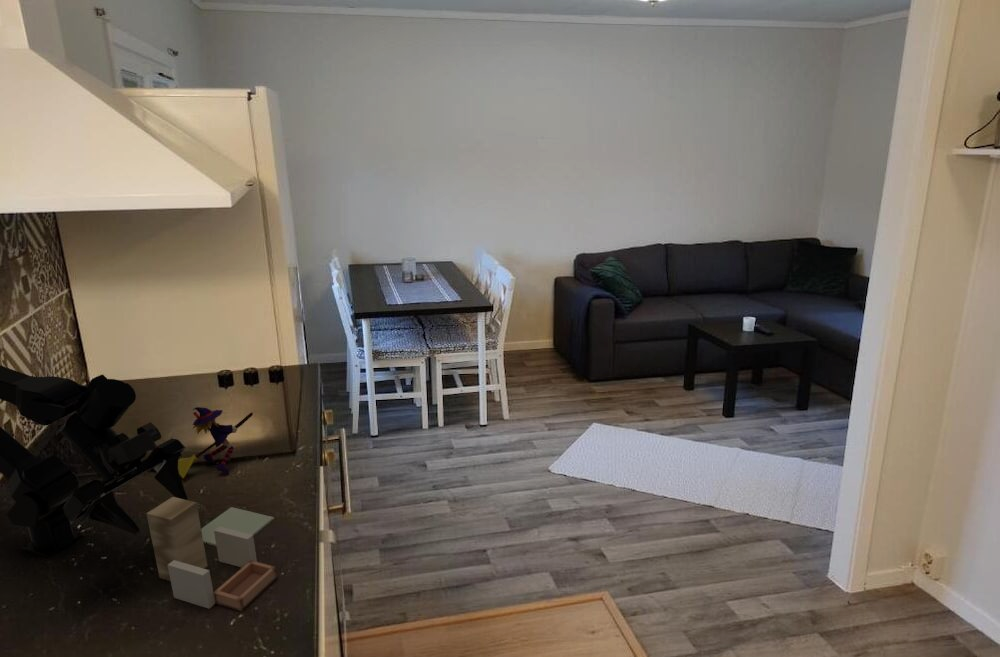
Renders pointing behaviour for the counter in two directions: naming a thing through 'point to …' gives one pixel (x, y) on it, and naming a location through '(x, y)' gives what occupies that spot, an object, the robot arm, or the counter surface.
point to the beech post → (176, 535)
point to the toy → (219, 435)
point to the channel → (197, 581)
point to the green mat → (235, 523)
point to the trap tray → (245, 585)
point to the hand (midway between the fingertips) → (162, 516)
